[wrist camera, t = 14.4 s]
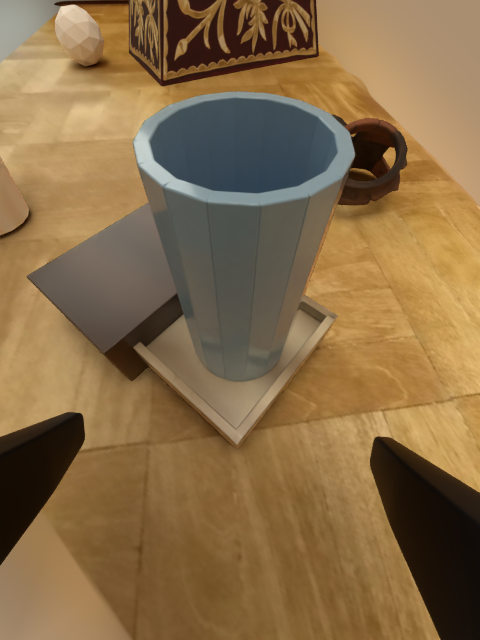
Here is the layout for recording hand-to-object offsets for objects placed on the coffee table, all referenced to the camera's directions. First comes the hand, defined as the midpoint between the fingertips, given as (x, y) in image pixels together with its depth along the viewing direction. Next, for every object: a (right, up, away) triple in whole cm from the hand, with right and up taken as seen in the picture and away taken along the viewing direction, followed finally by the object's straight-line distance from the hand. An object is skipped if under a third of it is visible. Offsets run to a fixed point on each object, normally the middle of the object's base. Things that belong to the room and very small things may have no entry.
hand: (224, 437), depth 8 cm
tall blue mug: (+1, +3, +12) cm, 12 cm away
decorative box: (-3, +60, +49) cm, 77 cm away
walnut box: (-3, +4, +14) cm, 15 cm away
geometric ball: (-29, +54, +45) cm, 76 cm away
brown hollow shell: (+13, +20, +25) cm, 34 cm away
